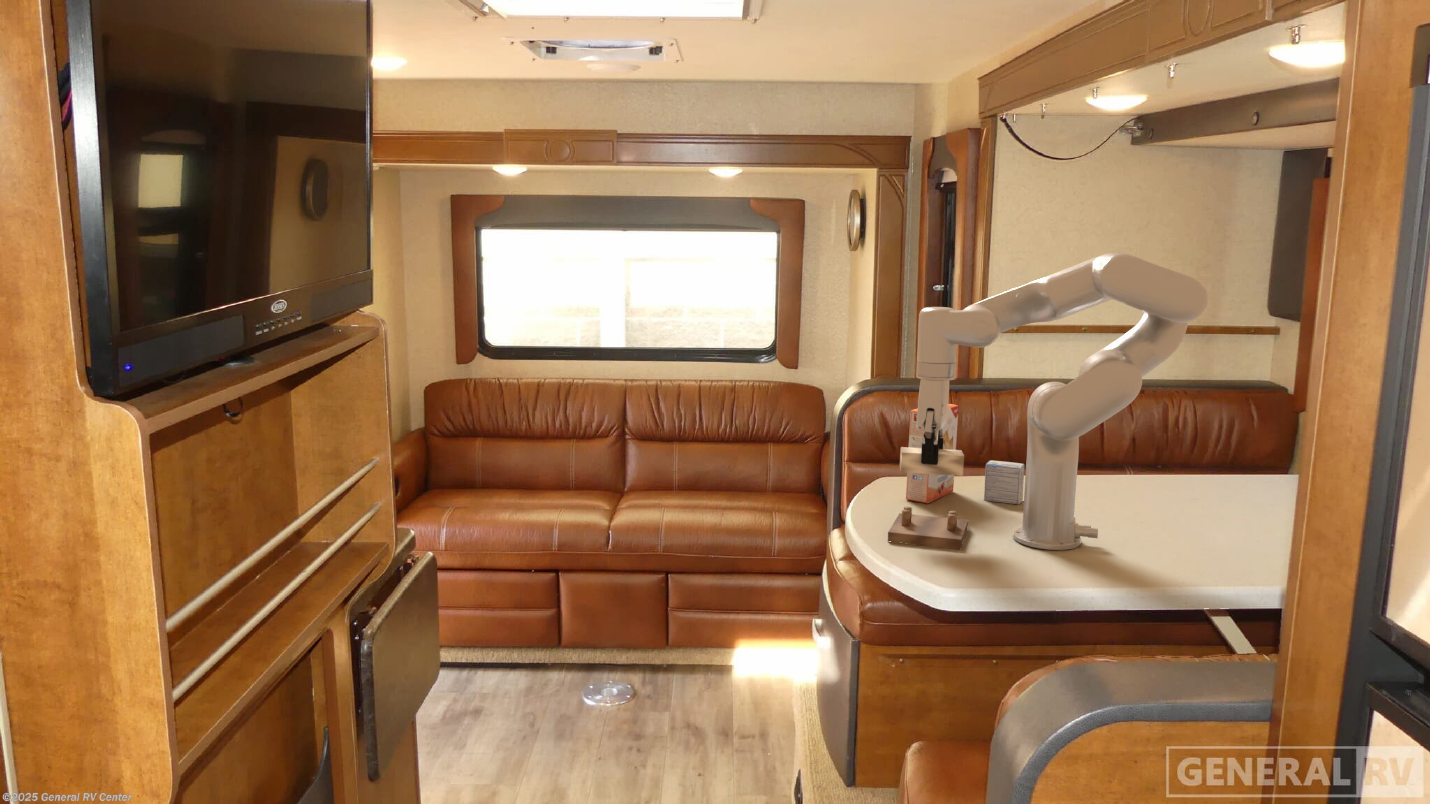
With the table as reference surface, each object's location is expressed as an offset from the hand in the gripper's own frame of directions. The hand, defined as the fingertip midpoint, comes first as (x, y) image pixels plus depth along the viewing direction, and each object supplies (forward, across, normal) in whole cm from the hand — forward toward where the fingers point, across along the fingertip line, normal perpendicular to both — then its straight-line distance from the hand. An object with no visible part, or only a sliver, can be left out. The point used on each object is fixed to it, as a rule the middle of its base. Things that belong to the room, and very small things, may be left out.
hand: (931, 459), depth 201 cm
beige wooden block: (+2, 0, 0) cm, 2 cm away
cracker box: (+16, -30, -4) cm, 34 cm away
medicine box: (+16, -32, +12) cm, 38 cm away
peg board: (+16, 0, 0) cm, 16 cm away
